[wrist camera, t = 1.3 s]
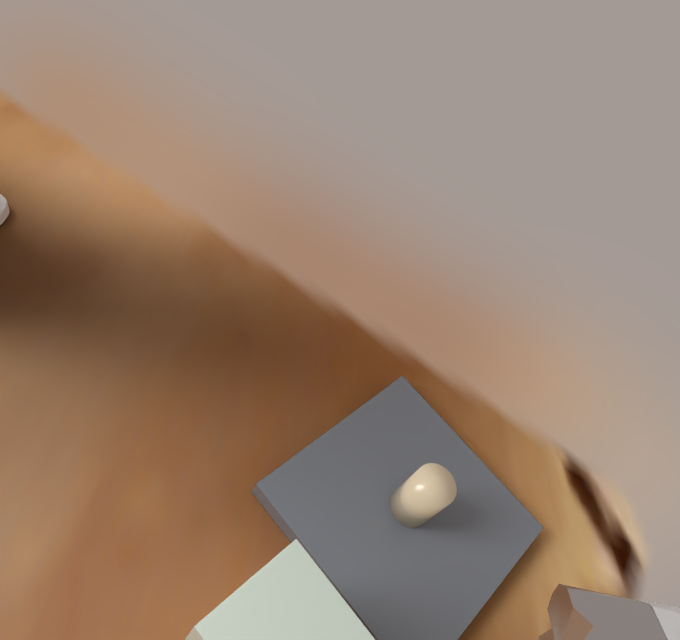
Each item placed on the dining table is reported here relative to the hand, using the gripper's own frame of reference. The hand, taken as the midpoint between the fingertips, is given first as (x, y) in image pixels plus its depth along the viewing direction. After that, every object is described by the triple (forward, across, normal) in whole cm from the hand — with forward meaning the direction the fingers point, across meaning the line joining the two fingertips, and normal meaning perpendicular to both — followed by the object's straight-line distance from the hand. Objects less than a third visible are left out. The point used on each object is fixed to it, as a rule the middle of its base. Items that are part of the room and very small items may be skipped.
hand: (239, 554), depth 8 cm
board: (+31, -4, +21) cm, 38 cm away
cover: (+20, +4, +25) cm, 32 cm away
